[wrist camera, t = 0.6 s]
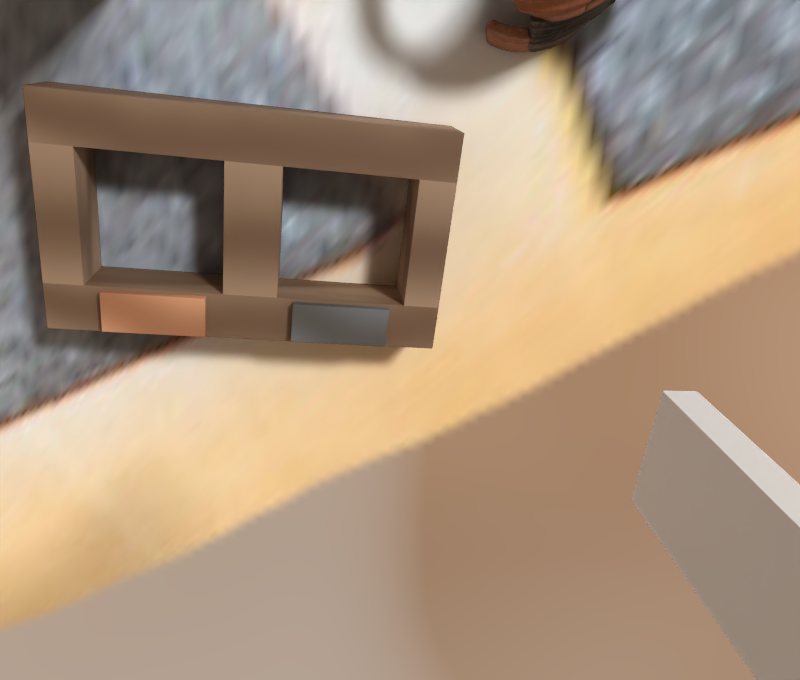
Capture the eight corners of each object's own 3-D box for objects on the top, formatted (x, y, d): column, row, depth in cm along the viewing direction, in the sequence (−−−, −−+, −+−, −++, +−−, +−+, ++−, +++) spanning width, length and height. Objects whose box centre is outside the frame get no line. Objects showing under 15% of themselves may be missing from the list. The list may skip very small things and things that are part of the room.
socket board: (47, 81, 30) (18, 85, 27) (451, 126, 33) (466, 134, 30) (67, 305, 34) (44, 331, 31) (423, 326, 38) (433, 351, 34)
